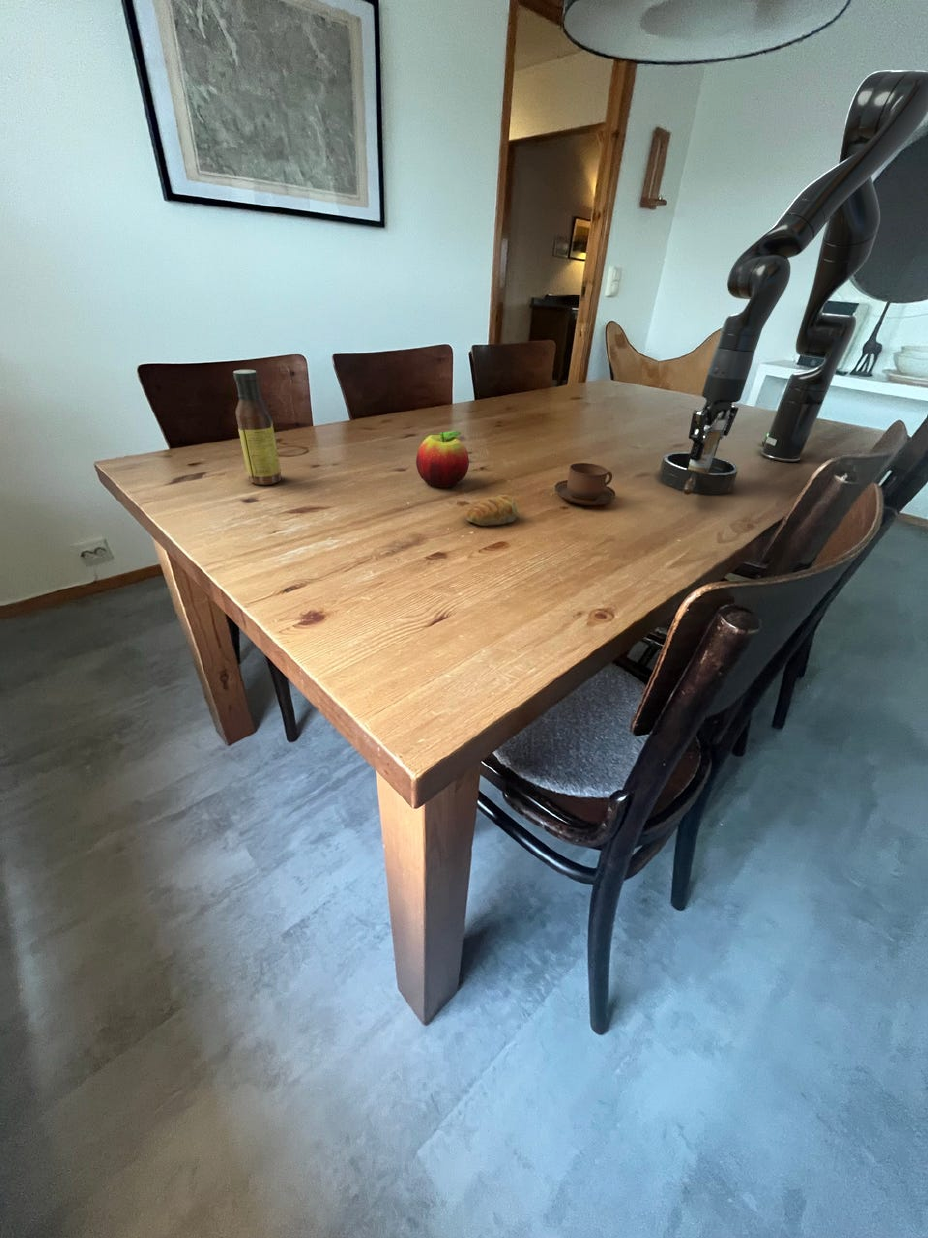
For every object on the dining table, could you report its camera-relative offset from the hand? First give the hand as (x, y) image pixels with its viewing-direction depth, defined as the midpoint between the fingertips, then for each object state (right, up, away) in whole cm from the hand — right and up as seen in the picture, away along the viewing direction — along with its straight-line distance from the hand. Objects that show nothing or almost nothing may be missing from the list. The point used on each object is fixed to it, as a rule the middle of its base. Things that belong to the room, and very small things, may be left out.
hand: (701, 457), depth 115 cm
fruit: (-57, -7, -7) cm, 58 cm away
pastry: (-47, -18, -21) cm, 54 cm away
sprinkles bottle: (0, -4, +3) cm, 5 cm away
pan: (0, -5, +3) cm, 6 cm away
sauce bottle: (-92, -8, -12) cm, 93 cm away
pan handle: (-6, -9, -8) cm, 14 cm away
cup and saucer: (-28, -11, -10) cm, 32 cm away
